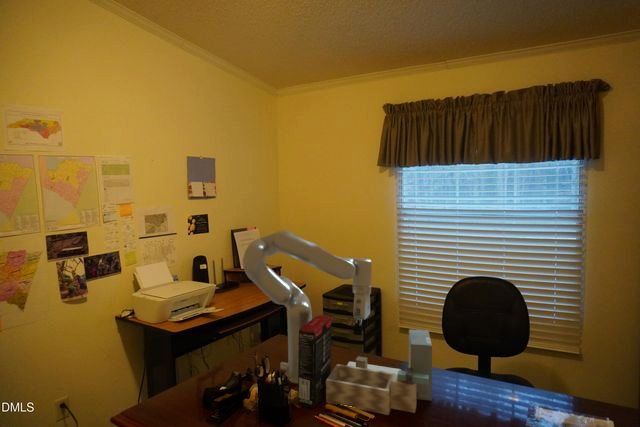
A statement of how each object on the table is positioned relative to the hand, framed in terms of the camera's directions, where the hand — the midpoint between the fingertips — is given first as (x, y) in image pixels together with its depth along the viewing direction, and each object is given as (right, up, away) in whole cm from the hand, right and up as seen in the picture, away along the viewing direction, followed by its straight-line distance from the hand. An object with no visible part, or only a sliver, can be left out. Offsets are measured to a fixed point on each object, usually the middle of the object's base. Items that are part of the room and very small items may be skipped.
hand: (360, 330), depth 148 cm
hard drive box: (+21, -18, -12) cm, 30 cm away
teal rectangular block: (+15, -9, -25) cm, 30 cm away
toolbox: (+2, -19, -19) cm, 27 cm away
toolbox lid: (+4, -18, 0) cm, 19 cm away
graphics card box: (-18, -19, -15) cm, 30 cm away
